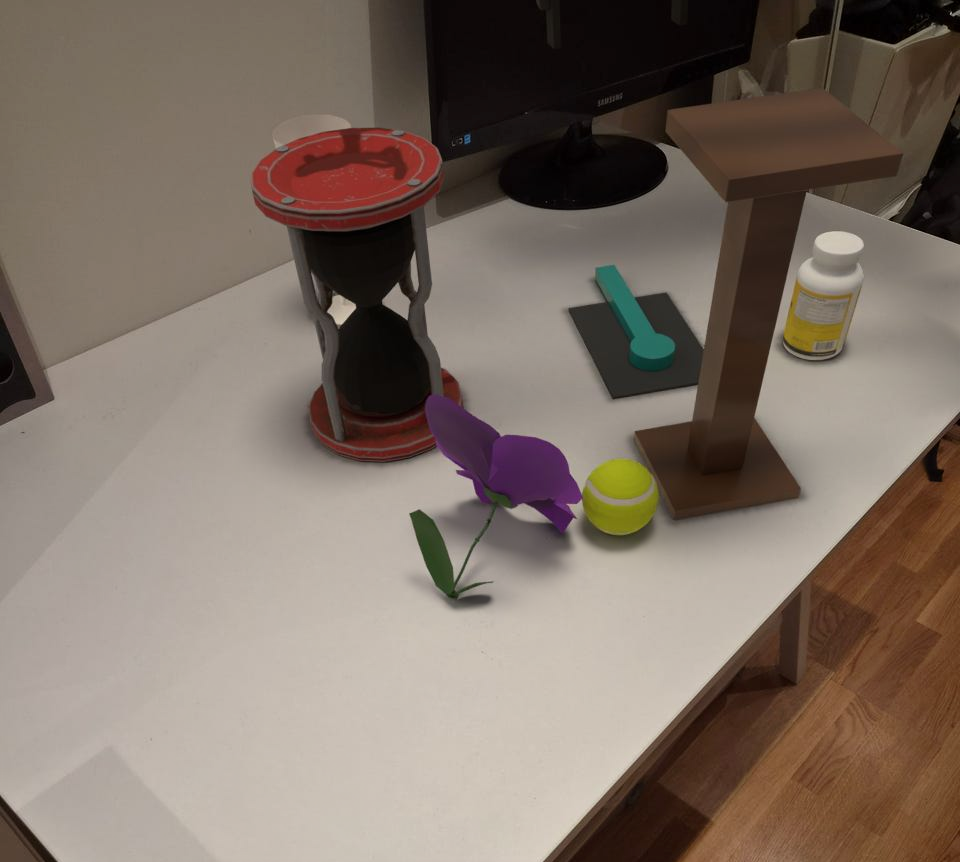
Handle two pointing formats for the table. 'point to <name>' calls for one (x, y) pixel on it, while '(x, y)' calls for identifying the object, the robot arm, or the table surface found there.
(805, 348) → the pill bottle
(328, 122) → the wineglass
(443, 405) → the flower
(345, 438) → the hourglass
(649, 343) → the measuring spoon
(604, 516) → the tennis ball
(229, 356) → the table surface
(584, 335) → the mat
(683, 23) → the robot arm
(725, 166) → the stand
